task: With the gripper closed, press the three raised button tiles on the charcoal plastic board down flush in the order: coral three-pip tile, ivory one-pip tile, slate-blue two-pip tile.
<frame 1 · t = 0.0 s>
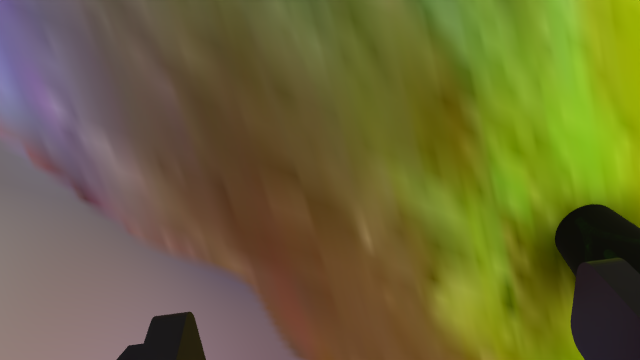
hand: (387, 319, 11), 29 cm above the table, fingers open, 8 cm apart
cup: (585, 231, 46), on the table
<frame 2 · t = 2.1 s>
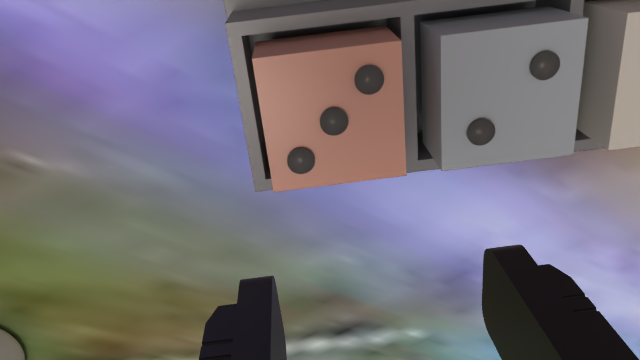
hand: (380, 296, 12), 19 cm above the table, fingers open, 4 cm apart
tile 3pip coral: (330, 108, 24), point 6 cm above the table, slide at 0.0 cm
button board: (457, 59, 29), on the table
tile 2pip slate: (496, 88, 24), point 6 cm above the table, slide at 0.0 cm
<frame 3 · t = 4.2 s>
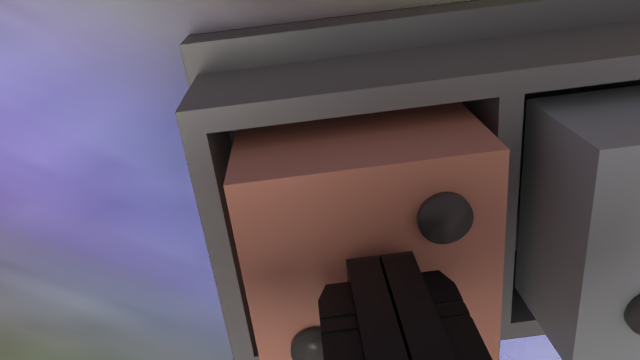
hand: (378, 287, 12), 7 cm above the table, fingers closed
tile 3pip coral: (365, 246, 14), point 5 cm above the table, slide at 0.6 cm, touching gripper
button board: (558, 137, 19), on the table
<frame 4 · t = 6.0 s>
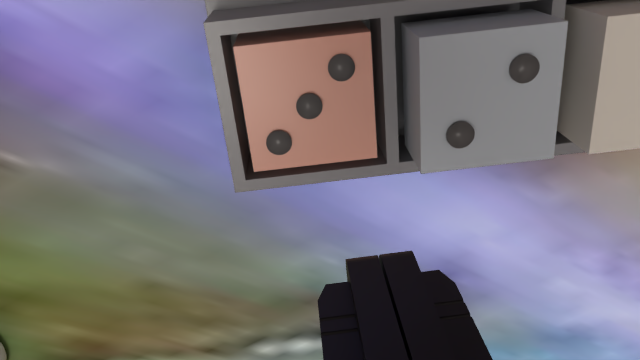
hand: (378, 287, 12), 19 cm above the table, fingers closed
tile 3pip coral: (307, 95, 26), point 4 cm above the table, slide at 2.3 cm
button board: (442, 60, 29), on the table
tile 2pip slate: (477, 90, 24), point 6 cm above the table, slide at 0.0 cm
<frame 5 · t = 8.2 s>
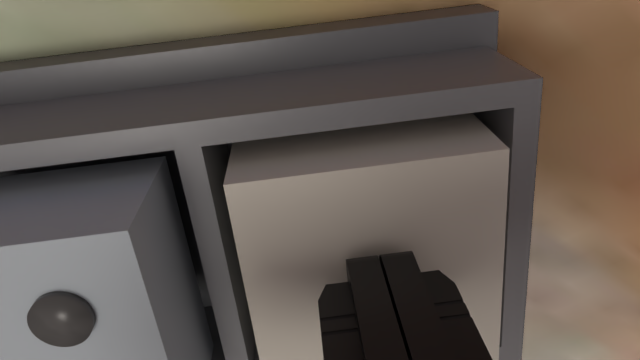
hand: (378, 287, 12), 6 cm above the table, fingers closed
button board: (120, 203, 18), on the table
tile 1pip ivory: (365, 245, 14), point 4 cm above the table, slide at 1.5 cm, touching gripper
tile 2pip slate: (51, 320, 12), point 6 cm above the table, slide at 0.0 cm
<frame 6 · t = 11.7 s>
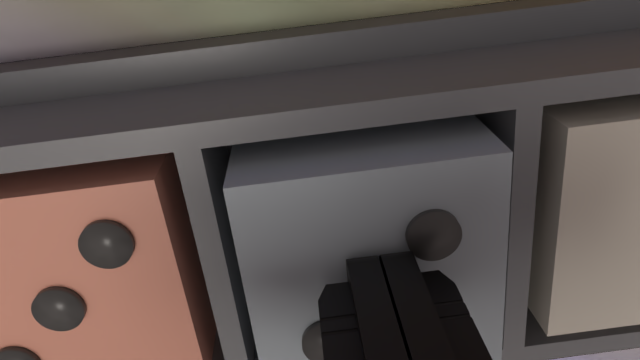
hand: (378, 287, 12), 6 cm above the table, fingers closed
tile 3pip coral: (83, 267, 14), point 4 cm above the table, slide at 2.3 cm
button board: (347, 176, 18), on the table
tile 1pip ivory: (636, 196, 15), point 4 cm above the table, slide at 2.3 cm
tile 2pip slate: (366, 249, 14), point 4 cm above the table, slide at 1.4 cm, touching gripper
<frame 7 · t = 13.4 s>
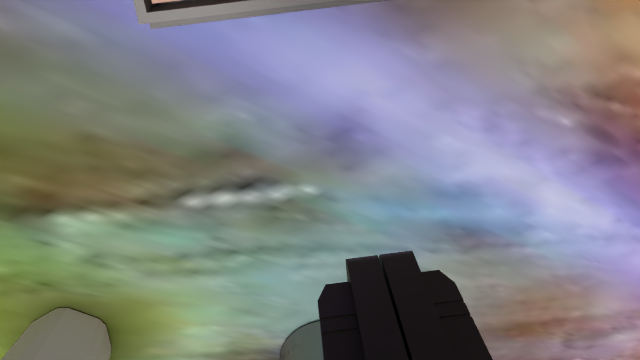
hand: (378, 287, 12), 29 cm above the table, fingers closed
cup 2: (72, 337, 49), on the table
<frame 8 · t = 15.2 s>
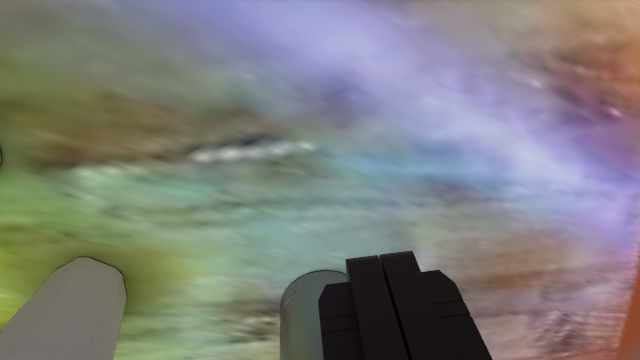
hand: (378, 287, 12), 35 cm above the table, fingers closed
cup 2: (90, 286, 53), on the table
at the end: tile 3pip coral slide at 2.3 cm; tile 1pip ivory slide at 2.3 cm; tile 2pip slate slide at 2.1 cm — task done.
